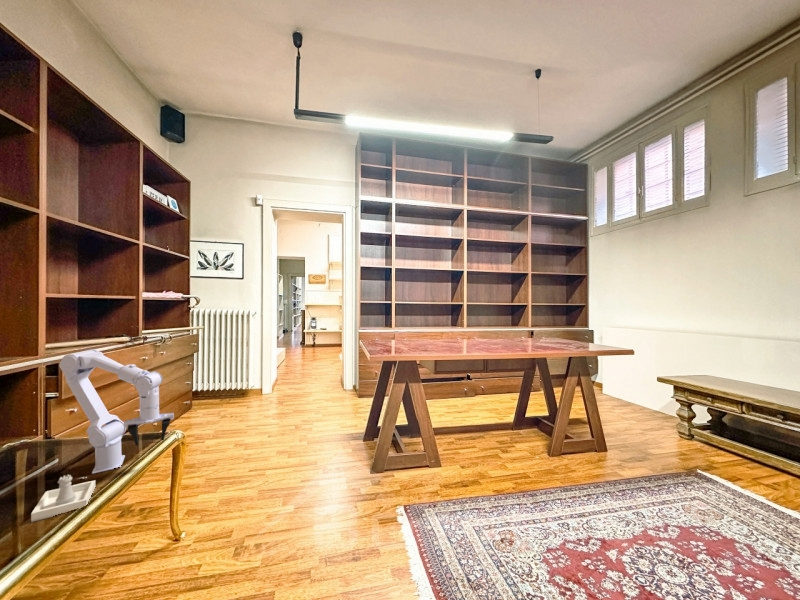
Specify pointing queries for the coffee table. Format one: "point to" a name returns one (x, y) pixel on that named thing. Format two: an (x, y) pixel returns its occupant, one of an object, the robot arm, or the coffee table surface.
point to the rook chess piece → (65, 491)
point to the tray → (50, 509)
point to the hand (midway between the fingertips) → (150, 441)
